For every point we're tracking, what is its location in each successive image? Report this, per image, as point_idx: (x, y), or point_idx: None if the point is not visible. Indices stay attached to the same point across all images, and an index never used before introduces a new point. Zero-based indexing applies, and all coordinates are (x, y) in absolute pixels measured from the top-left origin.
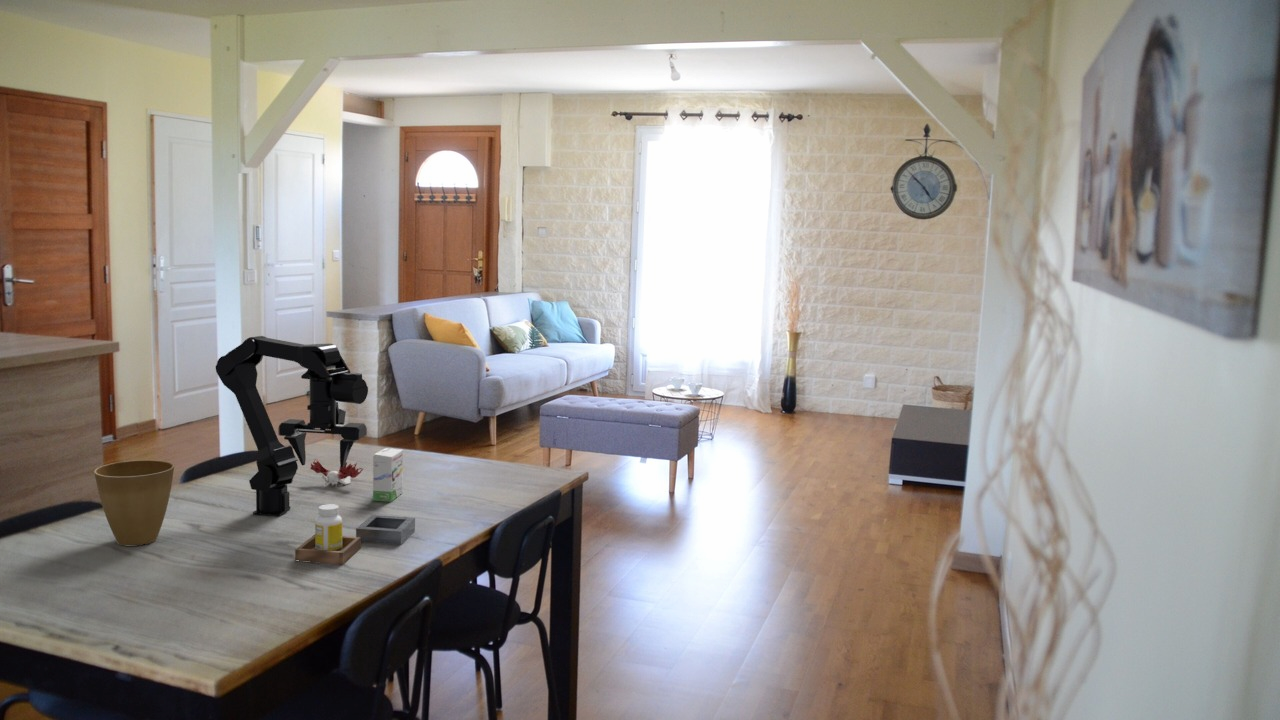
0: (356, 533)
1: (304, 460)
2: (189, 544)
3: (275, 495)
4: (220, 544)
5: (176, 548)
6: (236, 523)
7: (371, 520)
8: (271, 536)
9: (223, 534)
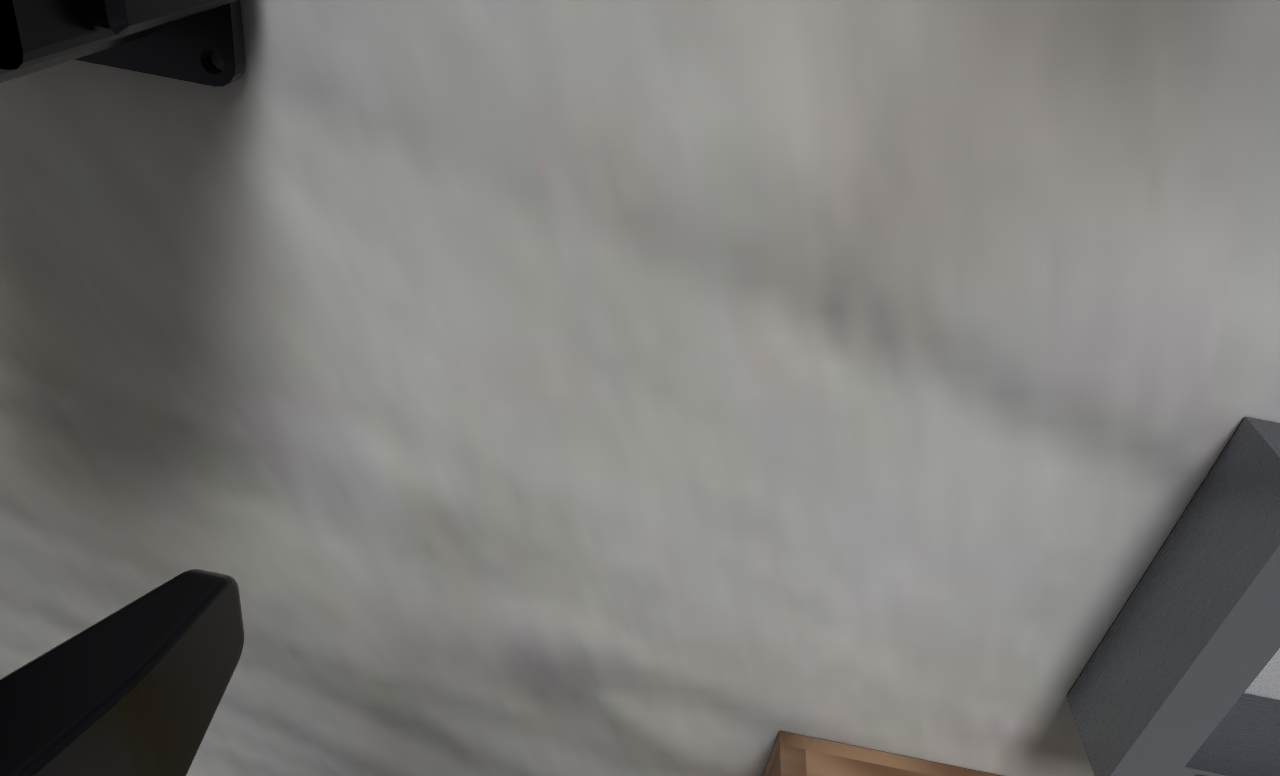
0: (1090, 754)
1: (181, 692)
2: None
3: (24, 70)
4: None
5: None
6: (5, 289)
7: (1272, 642)
8: (431, 572)
9: (93, 523)
